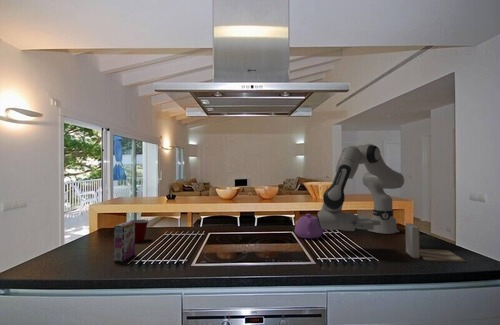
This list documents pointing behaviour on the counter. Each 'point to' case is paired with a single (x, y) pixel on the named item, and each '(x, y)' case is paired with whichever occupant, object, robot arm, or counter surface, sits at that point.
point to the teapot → (308, 227)
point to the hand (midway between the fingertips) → (380, 222)
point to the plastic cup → (140, 229)
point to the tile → (412, 240)
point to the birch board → (439, 255)
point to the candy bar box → (124, 241)
